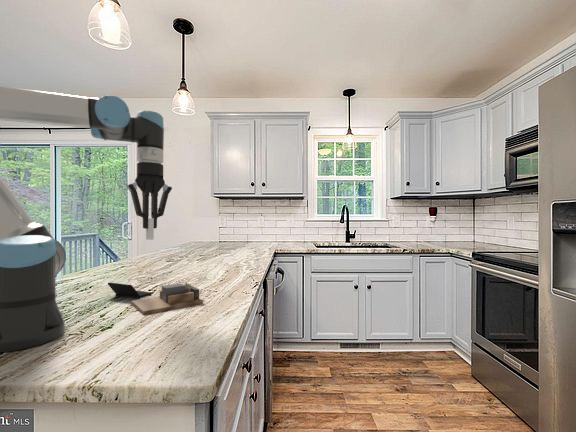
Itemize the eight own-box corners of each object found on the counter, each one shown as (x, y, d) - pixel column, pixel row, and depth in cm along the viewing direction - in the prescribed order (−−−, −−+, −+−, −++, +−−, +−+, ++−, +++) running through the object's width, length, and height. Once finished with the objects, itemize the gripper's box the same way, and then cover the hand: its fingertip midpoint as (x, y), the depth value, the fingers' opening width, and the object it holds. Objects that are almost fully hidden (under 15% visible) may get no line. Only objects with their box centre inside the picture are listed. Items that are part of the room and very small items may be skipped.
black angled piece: (155, 288, 115) (141, 270, 109) (146, 305, 109) (131, 286, 103) (128, 291, 117) (113, 273, 111) (118, 307, 111) (101, 289, 106)
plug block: (165, 302, 98) (165, 288, 98) (161, 299, 102) (161, 286, 102) (184, 299, 102) (184, 285, 102) (180, 296, 105) (180, 283, 105)
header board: (143, 314, 90) (143, 296, 90) (131, 303, 101) (131, 287, 100) (203, 303, 101) (203, 286, 101) (186, 294, 112) (186, 279, 112)
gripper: (130, 159, 90) (129, 241, 90) (175, 164, 98) (175, 239, 99) (124, 162, 96) (123, 239, 96) (167, 166, 104) (167, 237, 104)
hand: (149, 239), depth 97 cm, fingers closed
